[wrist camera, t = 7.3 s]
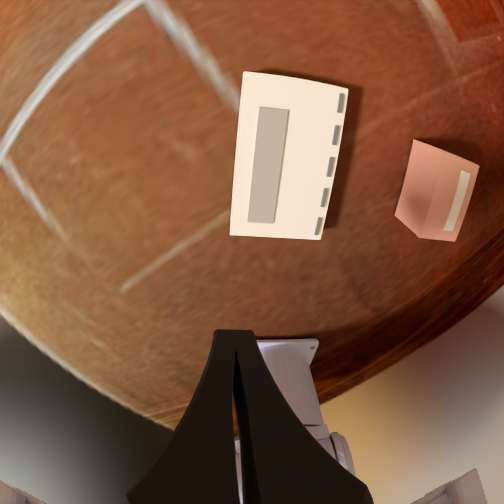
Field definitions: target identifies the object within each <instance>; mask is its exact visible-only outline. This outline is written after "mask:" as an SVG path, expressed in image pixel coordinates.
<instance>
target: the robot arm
mask: <svg viewBox="0 0 504 504" xmlns="http://www.w3.org/2000/svg"><path fill="white" fill-rule="evenodd" d="M318 345H319V341H318V339H287V340H256V338H255V335H254V332H253V331H252V330H223V329H217V330H215V331H214V337H213V342H212V347H211V351H210V354H209V357H208V360H207V363H206V366H205V369H204V371H203V374H202V377H201V379H200V382H199V384H198V386H197V388H196V391H195V393H194V395H193V397H192V399H191V402H190V404H189V405H188V407H187V409H186V411H185V413H184V415H183V417H182V419H181V420H180V422H179V424H178V426H177V427H176V429H175V430H174V432H173V434H172V435H171V437H170V439H169V440H168V442H167V443H166V445H165V446H164V448H163V449H162V451H161V452H160V453H159V454H158V456H157V457H156V459H155V460H154V461H153V463H152V464H151V465H150V467H149V468H148V469H147V470H146V472H145V473H144V474H143V475H142V476H141V478H140V479H139V480H138V481H137V482H136V483H135V484H134V486H132V488H131V489H130V490H129V491H128V492H127V493H126V496H125V498H124V500H123V502H122V504H374V503H373V499H372V497H371V494H370V492H369V490H368V487H367V486H366V485H365V484H364V483H363V482H362V481H360V480H359V479H358V478H356V477H355V470H354V464H353V460H352V456H351V452H350V449H349V446H348V443H347V441H346V439H345V437H344V436H342V435H340V434H338V433H337V432H333V433H330V436H329V432H328V428H327V425H324V422H323V418H322V414H321V410H320V406H319V402H318V398H317V394H316V390H315V386H314V382H313V379H312V375H311V371H310V367H309V366H310V364H311V362H312V359H313V357H314V354H315V352H316V350H317V347H318ZM232 393H233V397H234V405H235V412H236V419H237V426H238V433H239V440H237V441H236V450H235V444H234V431H233V415H232ZM0 504H46V503H45V502H44V501H42V500H40V499H38V498H36V497H34V496H32V495H30V494H28V493H27V492H25V491H22V490H20V489H18V488H15V487H13V486H11V485H9V484H7V483H5V482H3V481H2V480H0ZM410 504H487V501H486V497H485V494H484V490H483V487H482V484H481V481H480V478H479V475H478V472H477V469H476V468H474V469H472V470H471V471H469V472H467V473H466V474H464V475H462V476H460V477H459V478H457V479H455V480H453V481H450V482H448V483H446V484H444V485H442V486H440V487H438V488H436V489H435V490H433V491H431V492H429V493H427V494H426V495H425V496H424V497H423V498H421V499H419V500H416V501H414V502H413V503H410Z"/></svg>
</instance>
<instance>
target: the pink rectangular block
mask: <svg viewBox="0 0 504 504" xmlns="http://www.w3.org/2000/svg"><path fill="white" fill-rule="evenodd" d="M478 169H479V165H477V164H475V163H472V162H470V161H468V160H466V159H464V158H461V157H459V156H457V155H454V154H452V153H450V152H447V151H445V150H442V149H439V148H437V147H434V146H431V145H429V144H426V143H423V142H420V141H417V140H413V145H412V150H411V154H410V159H409V163H408V168H407V172H406V176H405V180H404V184H403V188H402V191H401V195H400V199H399V202H398V206H397V209H396V212H395V216H396V217H397V218H398V219H399V220H401V221H402V222H403V223H404V224H405V225H406V226H407V227H408V228H409V229H411V230H412V231H413V232H414V233H415V234H416V235H417V236H418V237H419V238H428V239H437V240H446V241H455V240H456V238H457V235H458V233H459V230H460V227H461V225H462V222H463V219H464V216H465V213H466V210H467V207H468V204H469V201H470V198H471V195H472V191H473V188H474V184H475V181H476V177H477V173H478Z"/></svg>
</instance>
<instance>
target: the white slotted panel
mask: <svg viewBox="0 0 504 504" xmlns="http://www.w3.org/2000/svg"><path fill="white" fill-rule="evenodd" d="M347 97H348V89H346V88H342V87H338V86H334V85H330V84H325V83H320V82H315V81H310V80H305V79H299V78H293V77H287V76H280V75H273V74H264V73H255V72H244V73H243V80H242V90H241V100H240V110H239V121H238V132H237V143H236V155H235V167H234V179H233V192H232V206H231V220H230V235H239V236H259V237H278V238H296V239H313V240H321V235H322V231H323V227H324V222H325V218H326V213H327V209H328V204H329V199H330V195H331V190H332V185H333V180H334V175H335V170H336V164H337V159H338V153H339V148H340V142H341V136H342V130H343V124H344V117H345V111H346V104H347Z"/></svg>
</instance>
